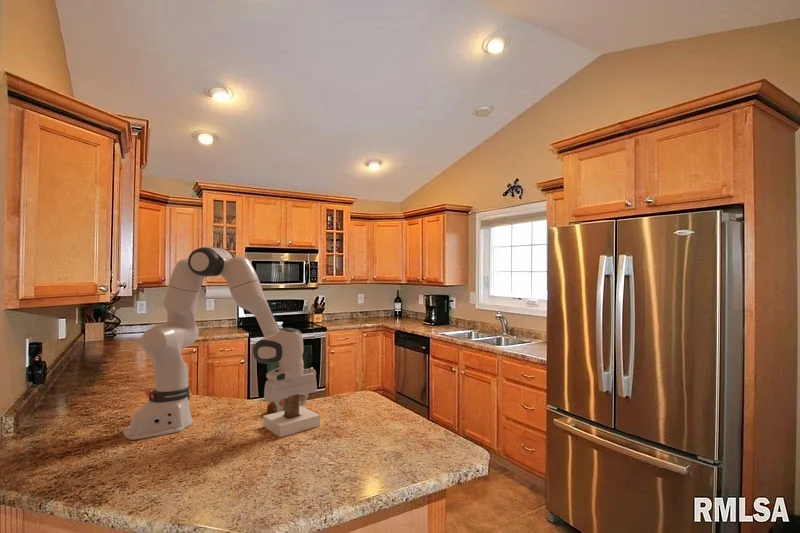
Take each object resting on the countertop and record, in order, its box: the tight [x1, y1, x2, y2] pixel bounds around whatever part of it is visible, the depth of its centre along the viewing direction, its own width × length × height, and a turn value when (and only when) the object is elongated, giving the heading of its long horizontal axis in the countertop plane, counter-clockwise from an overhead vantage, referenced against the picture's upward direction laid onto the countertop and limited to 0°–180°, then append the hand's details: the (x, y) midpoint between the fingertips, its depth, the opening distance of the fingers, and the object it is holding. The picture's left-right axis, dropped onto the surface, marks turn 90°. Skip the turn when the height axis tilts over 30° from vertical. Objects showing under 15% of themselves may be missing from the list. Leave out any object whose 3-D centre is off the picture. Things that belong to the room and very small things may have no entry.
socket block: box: [262, 406, 321, 438], centre depth 158 cm, size 16×14×4 cm
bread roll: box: [266, 399, 284, 415], centre depth 173 cm, size 10×10×8 cm
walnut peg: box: [284, 394, 300, 419], centre depth 158 cm, size 4×4×12 cm
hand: (291, 408), depth 158 cm, fingers open, 8 cm apart
